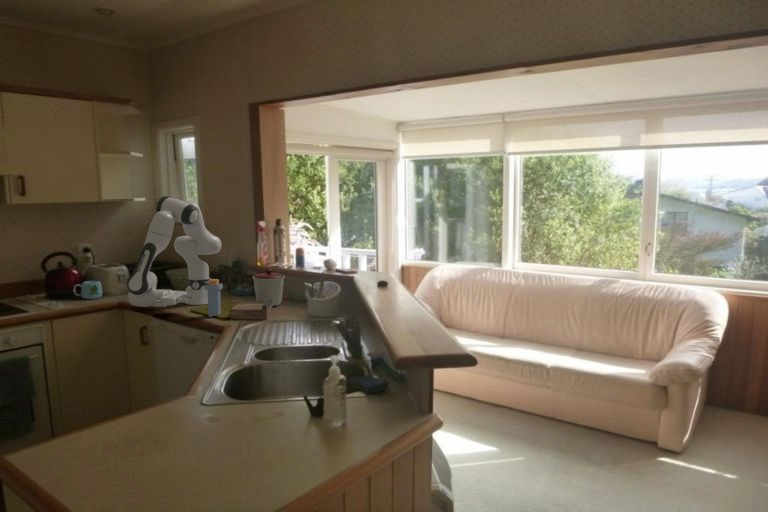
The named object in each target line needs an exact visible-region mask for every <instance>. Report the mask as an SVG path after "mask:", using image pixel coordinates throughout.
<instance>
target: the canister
mask: <svg viewBox="0 0 768 512" xmlns="http://www.w3.org/2000/svg"><path fill="white" fill-rule="evenodd" d="M285 278H286V276H285V275H284V274H283V273H278V272H273V269H271V268H266V269H265V272H263V273H256V274H255V275H254V276H252V279H253V284H254V291H255V299H256V303H265V302H266V301H267V300H272V308H273V307H277V306H279V305H281V303H282V299H283V292H284V280H285Z"/></svg>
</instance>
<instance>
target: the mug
mask: <svg viewBox="0 0 768 512" xmlns="http://www.w3.org/2000/svg"><path fill="white" fill-rule="evenodd" d="M77 287H80V288H81V292H80V293H78V292H77V291H76V288H77ZM72 291H73V293H74V295H75V296H77V297H80V296H81V298H82V299H84V300H95V299H100V298H101V297H102V296H103V287H102V283H101V281H99V280H86V281H84V282H82V283H80V284H78V283H77V284H75V285H74V286H73V289H72Z"/></svg>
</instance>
